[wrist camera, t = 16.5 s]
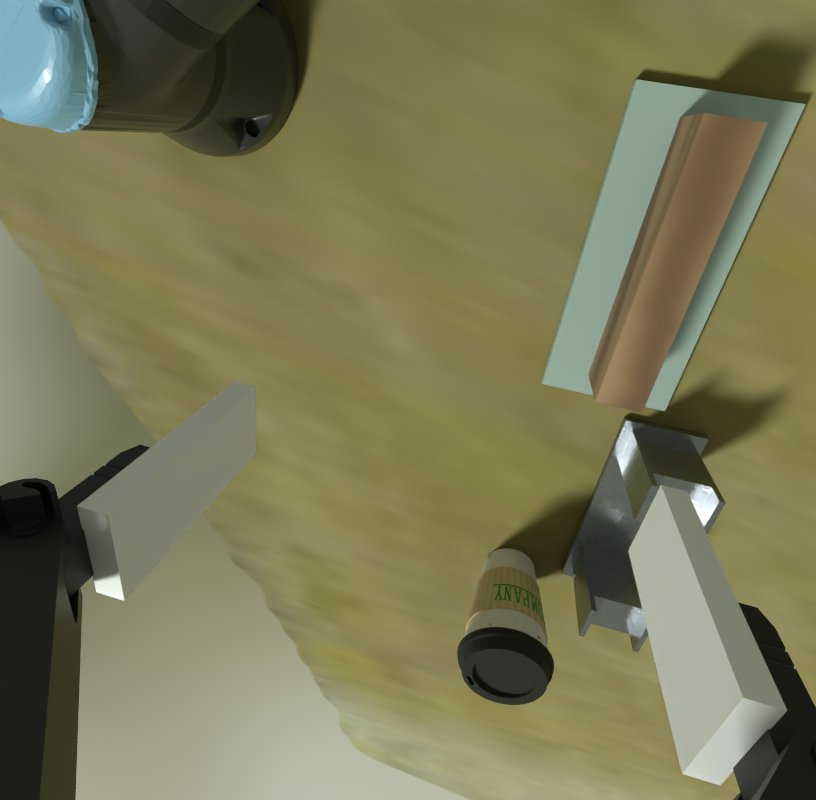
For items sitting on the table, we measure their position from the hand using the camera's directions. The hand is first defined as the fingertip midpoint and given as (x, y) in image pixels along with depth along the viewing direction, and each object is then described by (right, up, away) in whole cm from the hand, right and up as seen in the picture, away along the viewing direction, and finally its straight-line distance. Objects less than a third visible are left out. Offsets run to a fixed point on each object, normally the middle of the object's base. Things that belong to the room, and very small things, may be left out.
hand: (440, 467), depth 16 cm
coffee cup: (+12, -19, +47) cm, 52 cm away
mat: (+20, +14, +28) cm, 37 cm away
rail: (+20, +14, +27) cm, 36 cm away
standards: (+23, -10, +39) cm, 47 cm away
